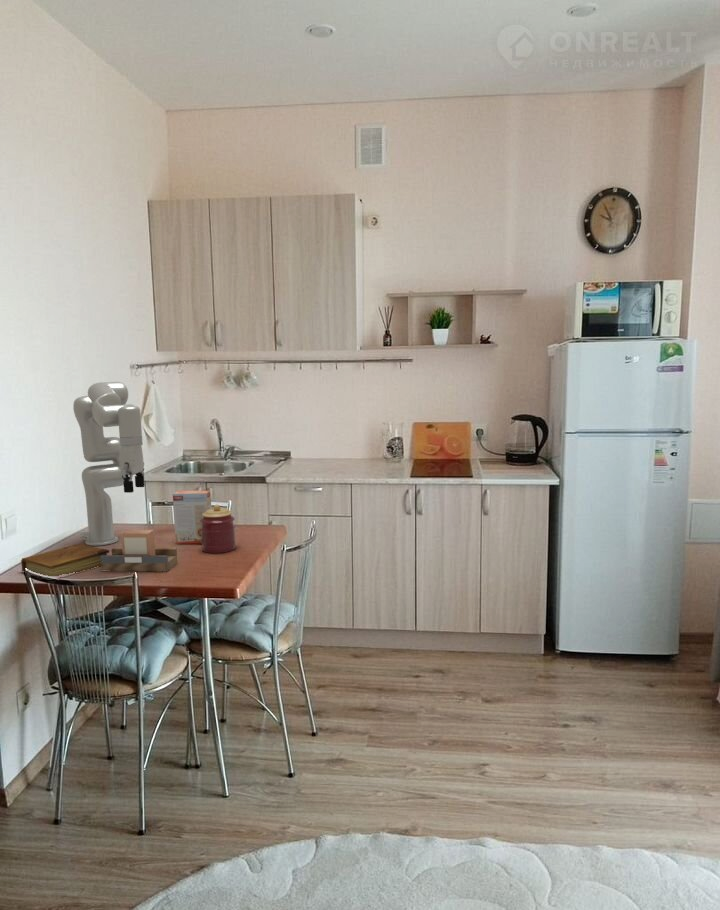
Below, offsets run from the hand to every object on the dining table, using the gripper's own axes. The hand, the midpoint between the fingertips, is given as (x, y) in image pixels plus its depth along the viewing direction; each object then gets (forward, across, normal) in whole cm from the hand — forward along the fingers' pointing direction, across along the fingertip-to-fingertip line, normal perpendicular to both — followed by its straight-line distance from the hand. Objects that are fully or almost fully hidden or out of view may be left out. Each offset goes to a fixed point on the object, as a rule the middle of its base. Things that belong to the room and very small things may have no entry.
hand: (134, 489), depth 254 cm
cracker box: (+28, -34, +9) cm, 45 cm away
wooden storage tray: (+28, 0, 0) cm, 28 cm away
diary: (+29, +1, -27) cm, 40 cm away
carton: (+25, 0, 0) cm, 25 cm away
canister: (+28, -24, +22) cm, 43 cm away
